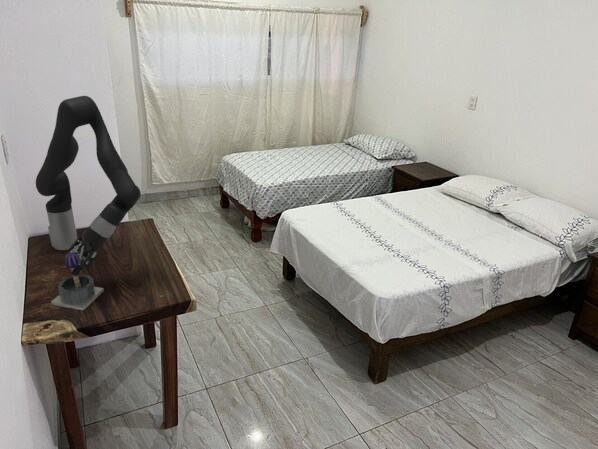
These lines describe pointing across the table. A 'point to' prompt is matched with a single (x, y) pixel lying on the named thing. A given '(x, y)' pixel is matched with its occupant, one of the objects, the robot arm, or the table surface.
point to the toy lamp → (71, 263)
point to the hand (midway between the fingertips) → (69, 269)
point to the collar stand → (77, 293)
